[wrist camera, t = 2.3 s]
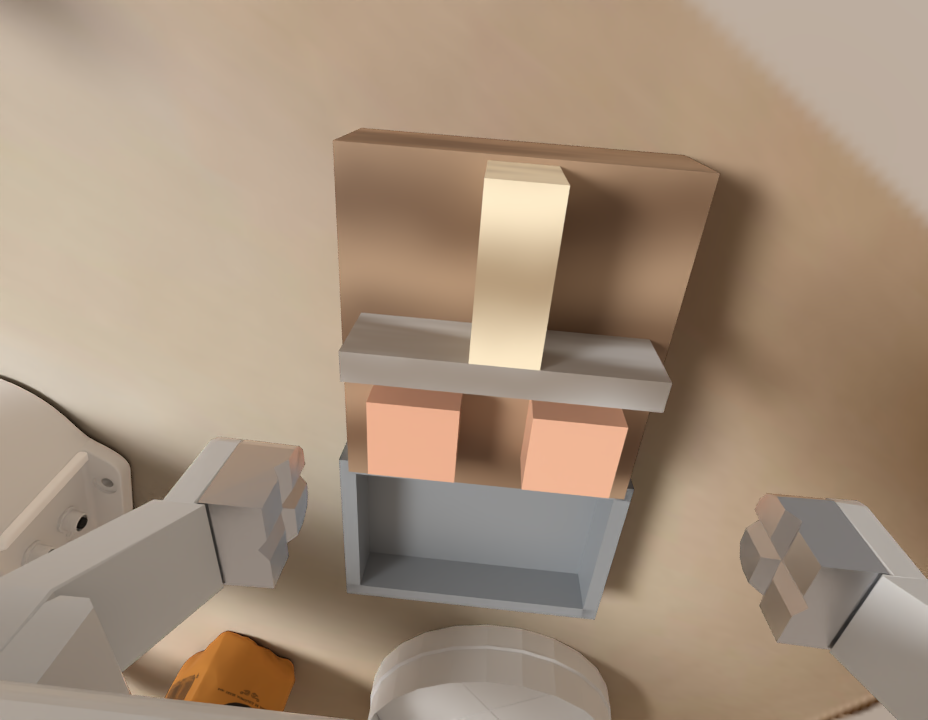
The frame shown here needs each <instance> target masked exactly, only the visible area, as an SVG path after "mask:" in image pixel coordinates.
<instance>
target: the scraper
mask: <svg viewBox="0 0 928 720" xmlns="http://www.w3.org/2000/svg"><path fill="white" fill-rule="evenodd" d="M569 189H570V184H569V182H568V181H567V179H566V177H565V175H564V173H563V171H562V169H561V167H560V166H550V165H539V164H527V163H515V162H503V161H492V160H488V162H487V167H486V172H485V177H484V188H483V200H482V211H481V223H480V235H479V247H478V258H477V270H476V282H475V293H474V305H473V317H472V323H467V322H456V321H445V320H435V319H424V318H413V317H402V316H392V315H381V314H370V313H361V314H360V316H359V317H358V319H357V321H356V323H355V324H354V326H353V328H352V329H351V331H350V333H349V335H348V336H347V338H346V340H345V341H344V343H343V345H342V347H341V348H340V350H339V366H340V382H350V383H360V384H371V385H381V386H391V387H402V388H412V389H422V390H433V391H443V392H453V393H464V394H474V395H484V396H495V397H505V398H515V399H526V400H536V401H546V402H557V403H567V404H578V405H588V406H598V407H609V408H619V409H629V410H640V411H650V412H660V413H663V412H664V409H665V405H666V402H667V399H668V396H669V392H670V389H671V386H672V381H671V380H670V378H669V376H668V374H667V372H666V370H665V368H664V366H663V364H662V362H661V360H660V358H659V357H658V355H657V353H656V351H655V349H654V347H653V345H652V343H651V341H650V340H649V339H638V338H628V337H617V336H606V335H595V334H585V333H574V332H563V331H553V330H547V324H548V318H549V312H550V306H551V300H552V294H553V288H554V282H555V275H556V269H557V263H558V257H559V251H560V245H561V239H562V232H563V226H564V220H565V214H566V208H567V202H568V196H569Z"/></svg>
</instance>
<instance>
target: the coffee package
mask: <svg viewBox="0 0 928 720" xmlns="http://www.w3.org/2000/svg"><path fill="white" fill-rule="evenodd" d="M294 682H295V676H294V666H293V664H292V662H291V661H290V660H288V659H284V658H280V657H278V656H276V655H275V654H274V653H273V652H272V651H271V650H269V649H267V648H264V647H261V646H258V645H257V644H256V643H255V642H254V641H252V640H251V639H250V638H248V637H243V636H241V635H239V634H236V633H233V632H230V631H226V632H223V633H222V634H220V635H219V636H218V637H217V638H216V639H215V640H214V641H213V642H212V643H211V644H209V646H208V647H207V648H206V650H205V651H202V652H198V653H196V654H195V655H193V656H192V657H190V658H189V659H188V660H187V661H186V662H185V663H184V665H183V666H182V668H181V669H180V671H179V673H178V675H177V677H176V678H175V680H174V682H173V684H172V686H171V687H170V689H169V691H168V693H167V695H166V697H165V698H166V699H175V700H184V701H193V702H202V703H211V704H220V705H228V706H237V707H246V708H255V709H264V710H273V711H281V712H283V711H284V708H285V705H286V702H287V700H288V697H289V694H290V692H291V690H292V687H293V685H294Z"/></svg>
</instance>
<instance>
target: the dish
mask: <svg viewBox="0 0 928 720" xmlns="http://www.w3.org/2000/svg"><path fill="white" fill-rule="evenodd" d="M368 720H611V708H610V702H609V696H608V690H607V686H606V684H605V682H604V680H603V678H602V676H601V674H600V673H599V671H598V669H597V668H596V667H595V666H594V665H593V664H592V663H591V662H590V661H588V660H587V659H586V658H585V657H584V656H583V655H582V654H581V653H580V652H578V651H576V650H574V649H573V648H571V647H569V646H567V645H565V644H563V643H561V642H559V641H558V640H556V639H554V638H551V637H548V636H544V635H541V634H538V633H535V632H531V631H528V630H525V629H521V628H513V627H504V626H496V625H465V626H452V627H448V628H443V629H439V630H434V631H430V632H425V633H423V634H421V635H418V636H416V637H414V638H412V639H410V640H408V641H406V642H404V643H401V644H400V645H399V646H398V647H396V648H395V649H394V650H393V651H392V652H391V653H390V654H388V655H387V656H386V657H385V658H384V659H383V661H382V663H381V665H380V667H379V669H378V671H377V672H376V674H375V678H374V683H373V688H372V692H371V695H370V713H369V717H368Z"/></svg>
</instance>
